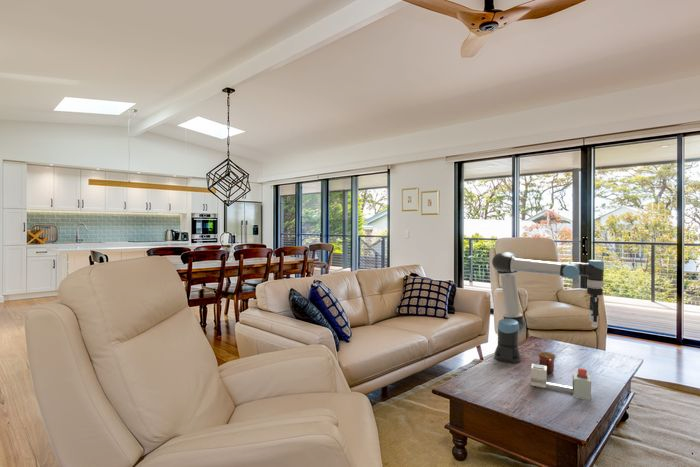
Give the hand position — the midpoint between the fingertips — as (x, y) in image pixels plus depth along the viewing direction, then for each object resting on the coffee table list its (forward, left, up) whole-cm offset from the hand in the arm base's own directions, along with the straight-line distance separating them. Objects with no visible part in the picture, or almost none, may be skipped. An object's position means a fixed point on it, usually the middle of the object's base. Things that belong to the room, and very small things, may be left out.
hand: (593, 324), depth 220 cm
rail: (-19, -40, -26) cm, 52 cm away
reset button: (-7, -40, -17) cm, 44 cm away
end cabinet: (-7, -40, -26) cm, 48 cm away
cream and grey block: (-26, -40, -25) cm, 54 cm away
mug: (-22, -20, -26) cm, 40 cm away
